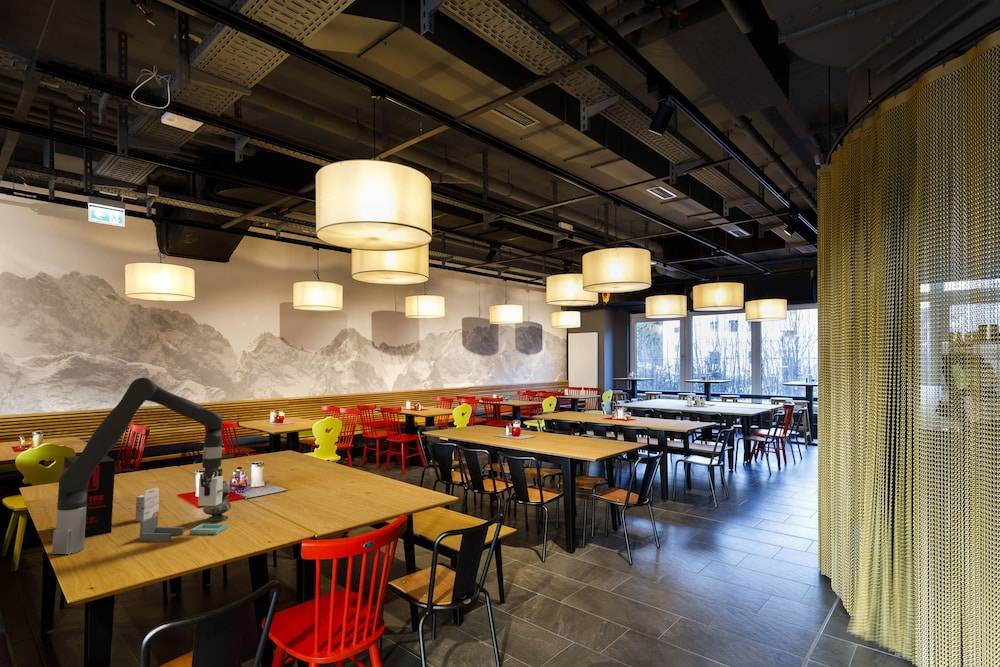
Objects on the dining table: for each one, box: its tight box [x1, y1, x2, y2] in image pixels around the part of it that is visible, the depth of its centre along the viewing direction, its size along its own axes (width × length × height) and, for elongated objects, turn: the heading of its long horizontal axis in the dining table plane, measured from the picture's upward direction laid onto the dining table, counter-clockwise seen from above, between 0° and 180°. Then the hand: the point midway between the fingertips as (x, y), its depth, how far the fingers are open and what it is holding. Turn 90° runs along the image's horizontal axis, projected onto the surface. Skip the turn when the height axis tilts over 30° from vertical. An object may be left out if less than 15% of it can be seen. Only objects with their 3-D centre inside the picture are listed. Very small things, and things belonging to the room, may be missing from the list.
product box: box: [63, 455, 116, 538], centre depth 235 cm, size 26×14×32 cm, turn 48°
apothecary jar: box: [202, 480, 232, 523], centre depth 251 cm, size 12×12×18 cm
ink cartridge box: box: [135, 486, 160, 522], centre depth 251 cm, size 9×5×15 cm, turn 168°
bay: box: [139, 514, 185, 542], centre depth 224 cm, size 10×13×8 cm
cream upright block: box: [197, 476, 224, 507], centre depth 234 cm, size 5×9×12 cm, turn 89°
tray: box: [189, 523, 229, 536], centre depth 233 cm, size 9×12×2 cm
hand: (210, 494), depth 234 cm, fingers closed on cream upright block, 5 cm apart
